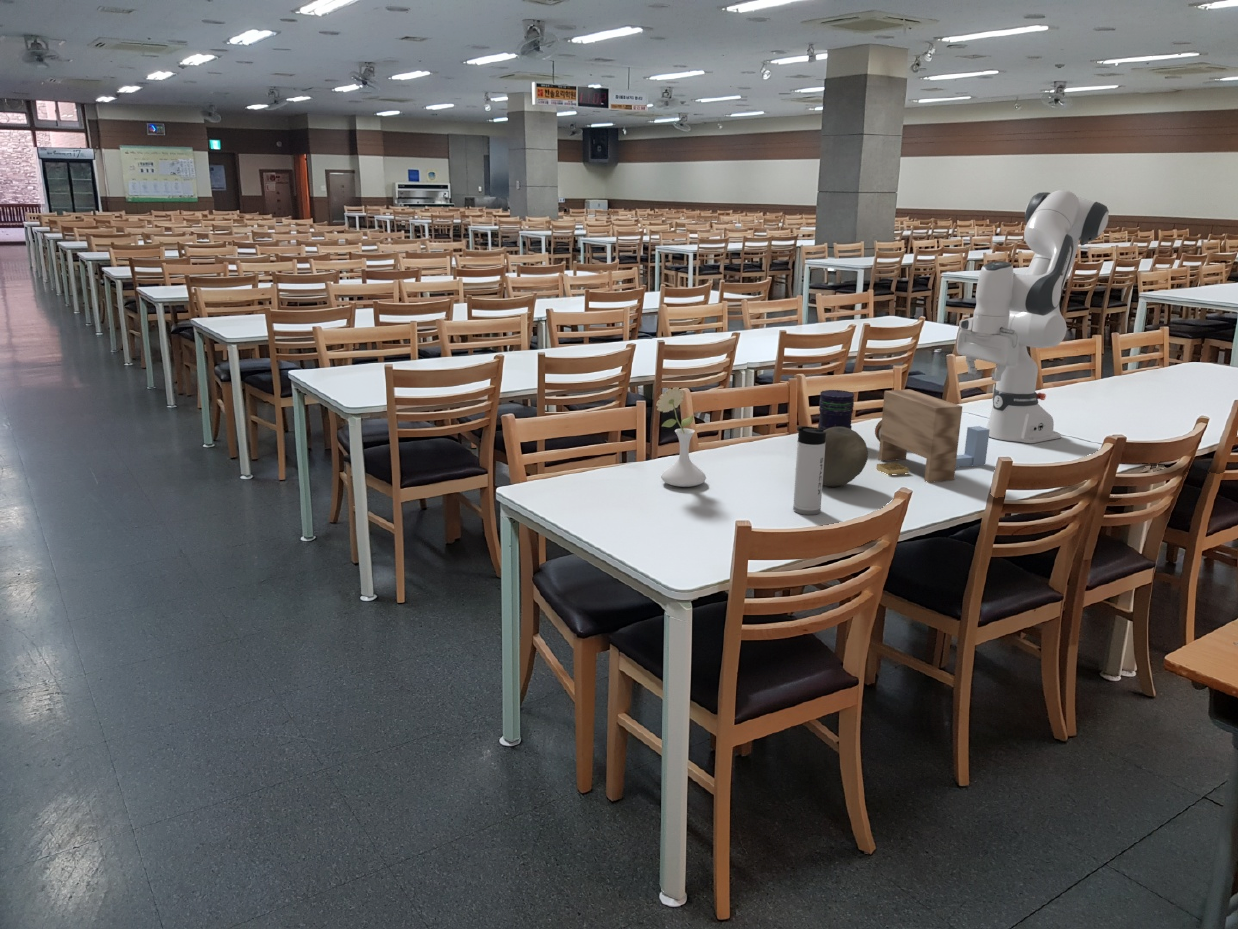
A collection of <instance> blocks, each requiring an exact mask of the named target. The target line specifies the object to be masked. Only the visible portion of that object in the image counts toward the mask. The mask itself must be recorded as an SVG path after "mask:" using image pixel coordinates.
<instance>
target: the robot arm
mask: <svg viewBox="0 0 1238 929" xmlns="http://www.w3.org/2000/svg"><path fill="white" fill-rule="evenodd" d="M1024 211H1025V212H1024V221H1025V223H1026V224H1025V228H1024V230H1023V237H1024V242H1025V244H1026V246H1027V247H1028V248H1029V249H1030V250H1031V251H1032V252H1033V253H1034V255H1033V257H1032V259H1031V262H1030V264H1029V265H1028V268H1027V269H1026V272H1025V274H1019V273H1016V272H1014V267H1013V264H1012V263H1010V262H1007V261H992V262H988V263H985V264H984V265H982V267H981V269H980V272H979V275H978V279H977V284H976V292H975V301H976V305H975V308H974V310H973V316H972V317H969V318H966V319H962V320H959V323H958V327H959V328H960V330H959V331H958V333H957V341H956V352H957V354H958V356H959V355H960V356H963V357H965V362H966V365H967V368H968V369H967V374H968V375H972V376H973V375H976V374H977V371H978V367H976V363H975V362H976V360H979V361H983V362H986V363H987V362H988V363H991V364H995V369H996V370H995V372H993V373H991V380H992V381H994V382H995V383H996V384H995V387H994V389H993V392H992V393H993V395H992V407H991V411H990V415H989V420H988V423H987V425H986V428H987V429H990V431H989V437H990V438H992V439H996V440H1001V441H1008V442H1018V443H1024V444H1036V443H1040V442H1046V441H1051V440H1055V439H1056V440H1057V439H1060V438H1061V437H1062V434H1061V433H1060V432H1058V431H1056V430H1054V425H1055V424H1054V422H1055V421H1054V418H1053V416H1052V415H1051V414H1050V413H1049V412H1047V411H1046V409H1044V408H1043V407H1042V406H1041V405H1040V403H1039V400H1041V401H1045V399H1046V398H1047V394H1046V393H1043V392H1038V393H1037V392H1036V387H1037V379H1038V374H1039V372H1038V371H1039V370H1038V369H1039V367H1038V364H1037V362H1036V361H1034V360H1033V358H1031V356H1030V355H1029V352H1028V348H1027V347H1030V348H1036V349H1047V348H1048V349H1049V348H1054V347H1057V346H1059V345H1060V344H1061V343H1062V342H1063V340H1064V338H1065V337H1066V334H1067V330H1068V329H1067V323H1066V320H1065V318H1064V316H1063V315H1062V313H1061V309H1060V302H1061V298H1062V292H1063V288H1064V286H1065V283H1066V281H1067V279H1068V277H1069V274H1070V272H1071V269H1072V267H1073V265H1074V263H1075V259H1076V256H1077V252H1078V248H1079V243H1080V246H1081V247H1082V246H1085V245H1086V244H1087V243H1090V242H1093V241H1094V240H1096V239H1097V238H1099V237H1100V236H1101V234H1103V232H1104V231H1105V229H1106V228H1107V226H1108V223H1109V212H1110V211H1109V209H1108V207H1107V205H1105V204H1103V203H1101V202H1098V201H1092V200H1089V199H1086V198H1082V197H1079V196H1077V195H1076V194H1075V193H1073V191H1070V190H1065V189H1058V190H1056V191H1052V192H1046V191H1045V192H1038V193H1037V194H1035V195H1033V196H1032V197H1031V199H1030V200H1029V201H1028V203H1027V205H1026V207H1025V210H1024Z"/></svg>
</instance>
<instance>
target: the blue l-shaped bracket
mask: <svg viewBox="0 0 1238 929" xmlns="http://www.w3.org/2000/svg"><path fill="white" fill-rule="evenodd" d="M966 429H967V430H966V436H965V437H966V438H965V446H964V454H957V458H956V467H955V468H959V467H958V466H965V467H978V466H977V465H981V466H985V465H986V461H987V460H986V459H987V454H988V447H989V440H990V439H989V431H990V429H987V427H984V426H981V425H978V426H977V425H976V426H967V427H966ZM984 464H985V465H984ZM971 465H973V466H971Z"/></svg>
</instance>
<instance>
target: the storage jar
mask: <svg viewBox="0 0 1238 929" xmlns="http://www.w3.org/2000/svg"><path fill="white" fill-rule="evenodd" d="M854 398H855V393H854V392H851V391H847V390H840V389H839V390H838V389H827V390H821V391H820V397H819V403H818V404H819V408H818V411H819V422H818V424H817V426H818V427H817V428H819V429H822V430H823V431H824V430H826V429H828V428H832V427H846V428H849V429H851V430H852V417H853V413H854V405H855V402H854V400H855V399H854Z"/></svg>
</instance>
